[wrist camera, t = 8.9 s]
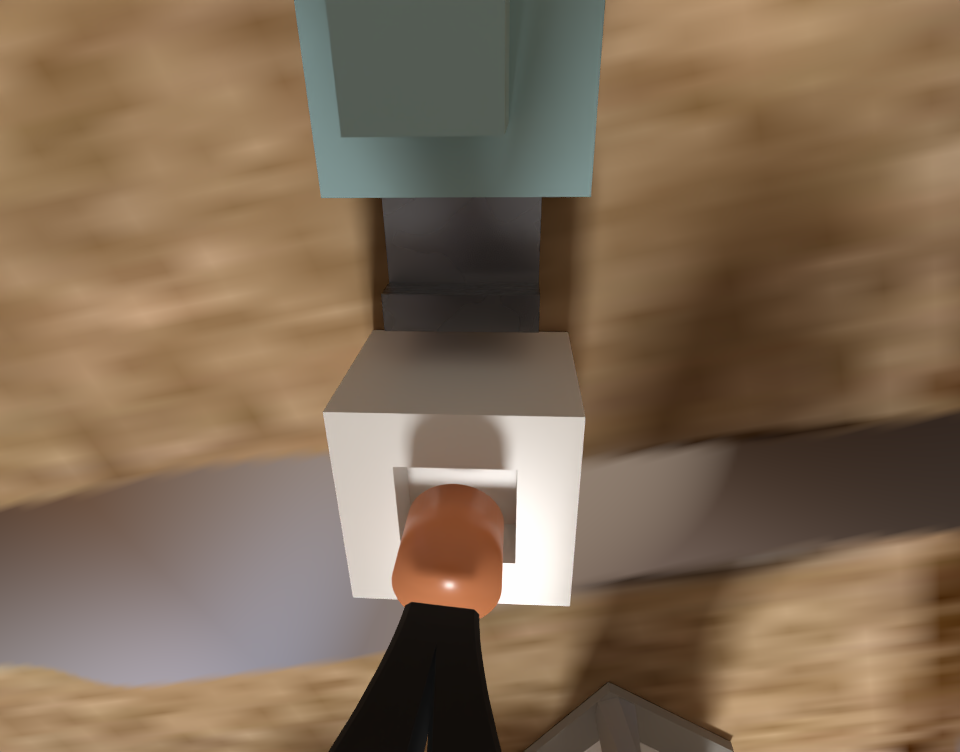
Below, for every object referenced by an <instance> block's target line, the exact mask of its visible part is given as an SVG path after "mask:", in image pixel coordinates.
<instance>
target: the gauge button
mask: <svg viewBox="0 0 960 752" xmlns="http://www.w3.org/2000/svg"><path fill="white" fill-rule="evenodd" d="M503 542H504V518H503V514H502V512H501V510H500V508H499V506H498V505H497V504H496V502H495V501H494V500H493V499H492V498H491V497H490V496H488V495H487V494H485V493H484V492H482V491H480V490H478V489H476V488H474V487H470V486H467V485H461V484H444V485H439V486H435V487H432V488H430V489H428V490H426V491H424V492H423V493H421V494H420V495H419V496H418V497H417V498H416V499H415V500H414V501H413V503H412V505H411V506H410V509H409V512H408V516H407V520H406V524H405V527H404V531H403V535H402V539H401V543H400V546H399V550H398V554H397V558H396V562H395V566H394V569H393V573H392V587H393V591H394V593H395V595H396V597H397V599H398V600H399V601H400V603H401V604H402V605H403V606H404V607H405V605H407V604H409V603H410V602H417V603H426V604H434V605H442V606H451V607H459V608H467V609H474V610H475V611H476V612H477V613H478V614H479V619H480V618H482V617H483V616H485V615H487V614H488V613H489V612H491V611H492V610H493V609H494V607H495V606H496V605H497V603H498V601H499V599H500V597H501V593H502V571H503Z"/></svg>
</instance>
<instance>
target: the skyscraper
mask: <svg viewBox="0 0 960 752" xmlns="http://www.w3.org/2000/svg"><path fill="white" fill-rule="evenodd" d="M524 752H734V751H733V747H732V744H731V742H730V741H728V740H726V739H724V738H722V737H720V736H718V735H716V734H714V733H711V732H709V731H707V730H705V729H703V728H701V727H699V726H697V725H695V724H693V723H691V722H689V721H687V720H685V719H683V718H681V717H679V716H677V715H675V714H673V713H671V712H669V711H667V710H665V709H663V708H661V707H658V706H656V705H654V704H652V703H650V702H648V701H646V700H644V699H642V698H640V697H638V696H636V695H634V694H632V693H630V692H628V691H626V690H624V689H622V688H620V687H618V686H616V685H614V684H612V683H610V682H608V683H607V684H606V685H604V686H603V687H602V688H601V689H600V690H598V691H597V692H596V693H595V694H593V695H592V696H591V697H590V698H589V699H587V700H586V701H585V702H584V703H582V704H581V705H580V706H579V707H578V708H576V709H575V710H574V711H573V712H571V713H570V714H569V715H568V716H567V717H565V718H564V719H563V720H562V721H560V722H559V723H558V724H557V725H556V726H554V727H553V728H552V729H551V730H549V731H548V732H547V733H546V734H545V735H543V736H542V737H541V738H540V739H538V740H537V741H536V742H535V743H534V744H532V745H531V746H530V747H529V748H527V749H526V750H525V751H524Z"/></svg>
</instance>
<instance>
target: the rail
mask: <svg viewBox="0 0 960 752" xmlns="http://www.w3.org/2000/svg"><path fill="white" fill-rule="evenodd" d="M541 202H542V197H422V198H382V206H383V217H384V228H385V239H386V250H387V262H388V273H389V284H388V285H387V287H386V288H385V290H384V291H383V293H382V294H381V297H382V307H383V317H384V328H385V331H425V332H518V333H539V307H540V291H539V259H540V230H541Z"/></svg>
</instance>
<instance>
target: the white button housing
mask: <svg viewBox="0 0 960 752" xmlns="http://www.w3.org/2000/svg"><path fill="white" fill-rule="evenodd" d="M323 416H324V422H325V428H326V434H327V441H328V447H329V453H330V459H331V465H332V471H333V477H334V483H335V489H336V496H337V502H338V508H339V514H340V520H341V526H342V532H343V539H344V545H345V551H346V557H347V563H348V569H349V575H350V581H351V587H352V593H353V597H354V598H378V599H397V597H396V595H395V593H394V591H393V587H392V573H393V569H394V566H395V562H396V558H397V554H398V550H399V546H400V543H401V539H402V535H403V531H404V527H405V524H406V520H407V516H408V512H409V509H410V506H411V505H412V503H413V501H414V500H415V499H416V498H417V497H418V496H419V495H420V494H421V493H423V492H424V491H426V490H428V489H430V488H432V487H435V486H439V485H444V484H461V485H467V486H470V487H474V488H476V489H478V490H480V491H482V492H484V493H485V494H487V495H488V496H490V497H491V498H492V499H493V500H494V501H495V502H496V504H497V505H498V506H499V508H500V510H501V512H502V514H503V518H504V542H503V571H502V593H501V597H500V599H499V601H498V603H502V604H526V605H551V606H570V597H571V585H572V572H573V561H574V549H575V536H576V524H577V513H578V499H579V489H580V477H581V465H582V453H583V441H584V429H585V413H584V408H583V403H582V398H581V393H580V388H579V383H578V379H577V374H576V369H575V364H574V359H573V354H572V349H571V344H570V340H569V335H568V332H539V333H518V332H425V331H385V330H373V331H372V333H371V334H370V336H369V338H368V339H367V341H366V342H365V344H364V346H363V347H362V349H361V351H360V352H359V354H358V355H357V357H356V359H355V360H354V362H353V364H352V365H351V367H350V369H349V370H348V372H347V373H346V375H345V377H344V378H343V380H342V382H341V383H340V385H339V387H338V388H337V390H336V391H335V393H334V395H333V396H332V398H331V400H330V401H329V403H328V404H327V406H326V408H325V409H324V411H323Z"/></svg>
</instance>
